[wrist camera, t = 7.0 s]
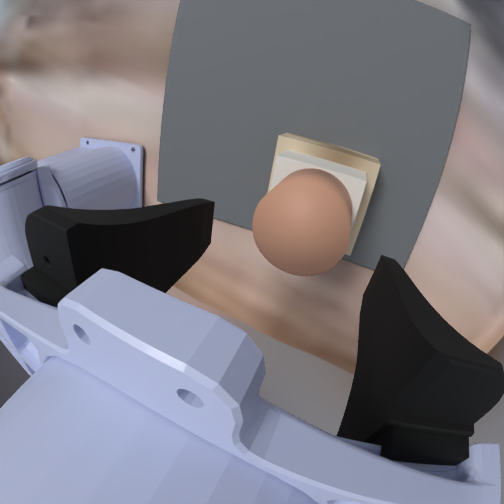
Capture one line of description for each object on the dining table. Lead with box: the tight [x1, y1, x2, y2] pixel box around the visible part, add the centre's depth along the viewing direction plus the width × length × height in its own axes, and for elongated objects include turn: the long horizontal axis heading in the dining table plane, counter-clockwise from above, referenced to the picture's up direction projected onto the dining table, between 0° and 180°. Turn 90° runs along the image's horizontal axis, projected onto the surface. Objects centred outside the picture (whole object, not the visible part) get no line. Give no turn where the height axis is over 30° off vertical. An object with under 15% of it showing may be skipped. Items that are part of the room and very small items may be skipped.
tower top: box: [270, 150, 367, 232], centre depth 17 cm, size 5×5×2 cm
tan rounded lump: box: [252, 168, 352, 276], centre depth 14 cm, size 4×4×4 cm
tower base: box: [267, 133, 381, 256], centre depth 19 cm, size 6×6×2 cm
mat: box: [157, 0, 471, 270], centre depth 18 cm, size 22×21×1 cm
